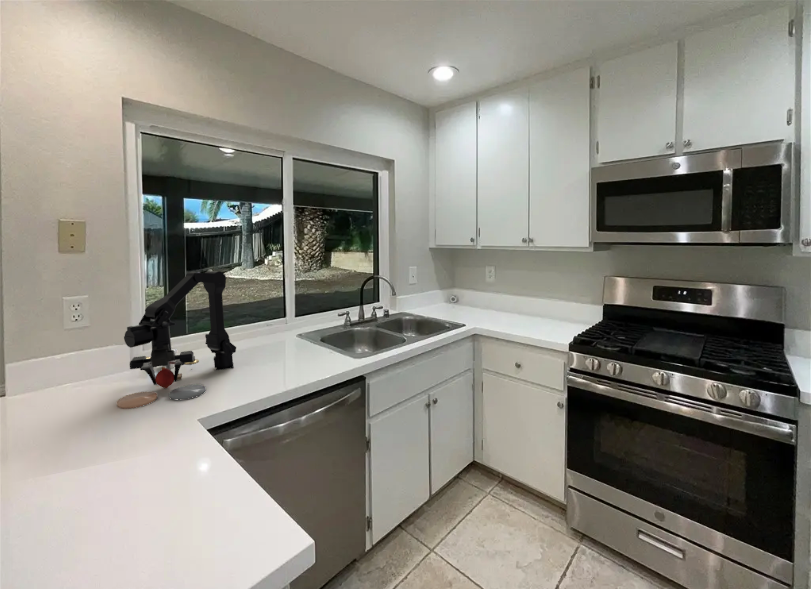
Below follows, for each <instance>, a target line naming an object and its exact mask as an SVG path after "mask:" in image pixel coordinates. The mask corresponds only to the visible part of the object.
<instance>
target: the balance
mask: <svg viewBox="0 0 811 589" xmlns="http://www.w3.org/2000/svg"><path fill="white" fill-rule="evenodd" d="M147 358H151V356H146V359H147ZM175 363H176V362H175V361H169V363H168V365H167V366H166V368H167V369H169V370H171V369H172V368H171V367H170V364H175ZM198 363H200V361H199V359H198V358H196V357H195V355H194V359H193V361H192V362H187V363H185V364H184V365H187V366H191V365H195V364H198ZM184 365H183V366H184ZM171 371H172V370H171ZM173 374H174V375H175V373H173ZM182 379H183V373H178V377H177V381H182ZM174 380H175V379H174Z"/></svg>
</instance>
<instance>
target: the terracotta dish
mask: <svg viewBox="0 0 811 589" xmlns="http://www.w3.org/2000/svg"><path fill="white" fill-rule="evenodd" d="M156 399H157V400H158V393H157V392H156V391H151V390H150V391H149V390H146V391H139V392H134V393H131V394H126V395H125V396H122V397H120V398H118V399H117V400H116V407H117V408H118V409H123V410H124V409H125V410H127V409H128V410H129V409H135V408H136V407H137V408H140V406H141V407H144V406H143V405H145V406H147V404H148V405H150V404H152V403H154V402H155V401H157V400H156ZM153 401H154V402H153ZM151 402H152V403H151ZM149 403H150V404H149ZM137 408H136V409H137Z"/></svg>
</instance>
